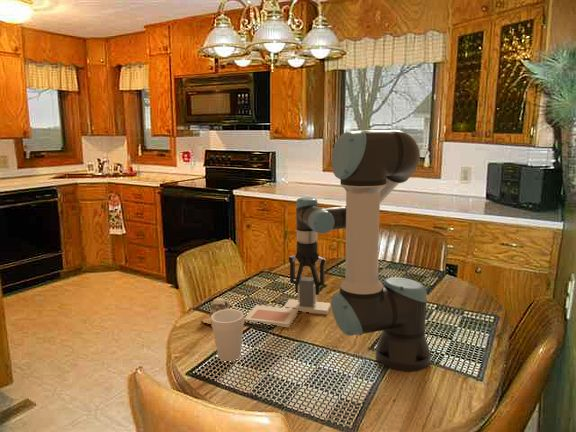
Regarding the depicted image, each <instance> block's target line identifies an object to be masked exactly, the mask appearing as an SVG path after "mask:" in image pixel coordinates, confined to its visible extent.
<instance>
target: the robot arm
mask: <svg viewBox="0 0 576 432" xmlns="http://www.w3.org/2000/svg"><path fill="white" fill-rule="evenodd" d="M420 154H421V152H420V148H419V145H418V144H417V142H416V140H415V139H414V138H413V137H412V136H411V134H409V133H407V132H406V131H405V132H404V131H401V130H399V129H398V130H397V129H389V130H386V129H385V130H355V131H354V130H352V131H346V132H344V133H342V134H341V135H340V136H338V139H337V141H335V144H334V146H333V150H332V154H331V168H332V172H333V175H334V177H336V178H337V179H339V180H340V187H342V188H343V189H344V190H345V192H346V193H345V196H346V197H345V205H343V206H332V207H319V204H318V199H317V198H315V197H311V196H305V197H298V198H297V199H296V200H295V201H296V202H295V203H296V204H295V215H296V216H295V221H296V222H295V223H296V224H295V225H296V253H295V254H294V255H290V256H289V257H288V263H289V278H290V279H289V282H290V283H291V284H293V285H294V290H295V293H296V294H297V300H298V303H300V295H299V280H300V279H301V277H302V275H303V272H304V267H309V269H310V270H311V271H310V272H311V274H312V277H313V279H314V283H315V285H314V287H313V304H316V302H318V296H319V294H320V287H322V286H324V284H325V282H326V279H325V277H326V276H325V275H326V274H325V265H326V261H327V258H326V257H321V256H320V254H319V253H318V249H319V246H318V240H319V239H318V238H319V237H318V236H319V235H318V234H328V233H329V232H331V231H333V230H334V231H335V230H340V229H345V278H343V279H342V280H341V281H340V283H339V292H336V293H334V294H332V297H331V301H330V303H331V311H332V315H333V317H334V320H335V323H336V325H337V327H338V328H339V330H340V332H341V333H343V334H344V335H346V336H351V337H352V336H362V335H364V334H371V333H377V332H381V334H380V337H379V338H378V342H377V344H376V347H375V357H376V359H377V361H378V362H379V363H380V364H382V365H384V366H385V367H387V368H389V369H392V370H396V371H400V372H417V371H420V370H424V369H425V368H427V367H429V365H430V362H431V352H430V348H429V345H428V341H427V338H426V317H427V315H426V314H427V303H428V298H427V295H428V294H427V288H426V287H425V285H423V284H422V283H421V282H418V281H417V280H414V279H409V278H406V277H398V276H396V277H395V276H392V277H387V278H385V279H384V281H383V283H382V282H381V281H380V280H379V254H380V253H379V249H380V246H379V245H380V242H379V241H380V236H379V235H380V211H381V210H380V208H381V207H380V205H381V203H382V202H383V201H384V200H385V199H386V198H387V197H388V195H390V193H391V192H392V191H394V189H395V188H396V187H397V186H398V185H399V184H403V183H406V182H407V181H408V180H409V179H410V178H411V177H412V176H413V175H414V174H415V172H416V170H417V169H418V167H419V164H420V159H421V155H420ZM296 260H297V261H298V263H299V265H298V270H297V273H296ZM317 261H318V264H319V275H318V270H317V268H316V267H317V266H316V262H317ZM296 274H297V275H296Z"/></svg>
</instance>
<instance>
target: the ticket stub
mask: <svg viewBox="0 0 576 432" xmlns="http://www.w3.org/2000/svg"><path fill="white" fill-rule="evenodd" d="M314 285H315V283H314V279H313V276H311V277H310V276H301V279H300V280H299V295H300V303H298V299H292V298H289V299H288V300H287V302H286V303H285V305H284V306H283V307H289V308H298V309H299V311H302V312H301V313H306V312H309V313H308V314H318V315H326V316H327V315H328V314H329V313H330V310H331V308H332V306H331V302H324V301H323V302H322V301H317V302H316V304H313V287H314Z"/></svg>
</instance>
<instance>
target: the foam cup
mask: <svg viewBox="0 0 576 432" xmlns="http://www.w3.org/2000/svg"><path fill="white" fill-rule="evenodd" d="M210 315H211V314H210ZM244 319H245V317H244V312H242V311H241V310H238V309H234V308H230V309H225V310H220V311H217V312H215V313H213V314H212V315H211V325H210V326H211V327H212V332H213V336H214V337H213V338H214V342H215V346H216V352H217V353H216V354H217V357H218V360H219V359H220V360H222V361H234V360H236V359H238V358H239V357H240V358H241V352H242V343H243V331H244V324H245V323H244ZM240 358H239V359H240ZM239 359H238V360H239ZM220 360H219V361H220Z"/></svg>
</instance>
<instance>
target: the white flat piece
mask: <svg viewBox="0 0 576 432" xmlns="http://www.w3.org/2000/svg"><path fill="white" fill-rule="evenodd" d="M298 311H299V309H298V308H289V307H284V306H280V305H279V306H278V305H268V304H260V303H259V304H256V305H254V307H253V308H252V309H251V310H250V311H249V312H248V313H247V315H246V316H245V317H244V321H251V322H252V321H253V322H261V323H267V324H273V325H277V326H283V327H289V326H290V325H291V326H292V324H291V323H293V322H294V321H293V320H295V319H296V317H297V316H298V314H299V312H298ZM297 313H298V314H297ZM296 315H297V316H296ZM295 316H296V317H295ZM294 318H295V319H294ZM291 326H290V327H291ZM290 327H289V328H290Z"/></svg>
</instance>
